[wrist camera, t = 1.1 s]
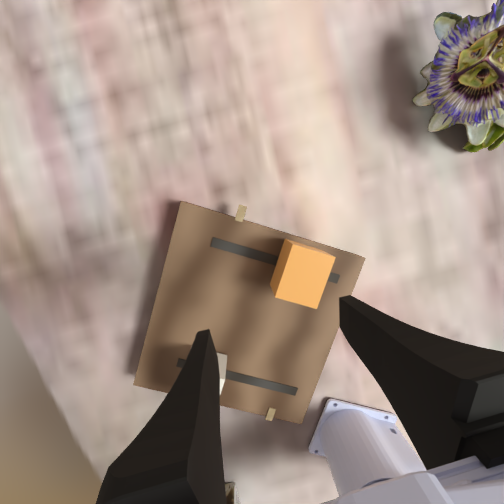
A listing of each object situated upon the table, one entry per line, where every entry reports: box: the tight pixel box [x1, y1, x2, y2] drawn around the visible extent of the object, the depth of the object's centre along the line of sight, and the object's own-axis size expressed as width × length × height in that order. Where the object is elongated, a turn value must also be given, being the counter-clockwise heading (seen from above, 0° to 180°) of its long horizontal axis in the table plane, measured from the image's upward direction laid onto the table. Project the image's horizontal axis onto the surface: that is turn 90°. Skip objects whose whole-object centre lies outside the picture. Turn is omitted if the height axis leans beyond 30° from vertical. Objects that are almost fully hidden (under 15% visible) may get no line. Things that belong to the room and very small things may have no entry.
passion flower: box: [412, 0, 504, 152], centre depth 23 cm, size 11×11×12 cm
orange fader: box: [270, 239, 336, 309], centre depth 24 cm, size 4×5×4 cm
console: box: [133, 201, 365, 424], centre depth 28 cm, size 20×23×2 cm
